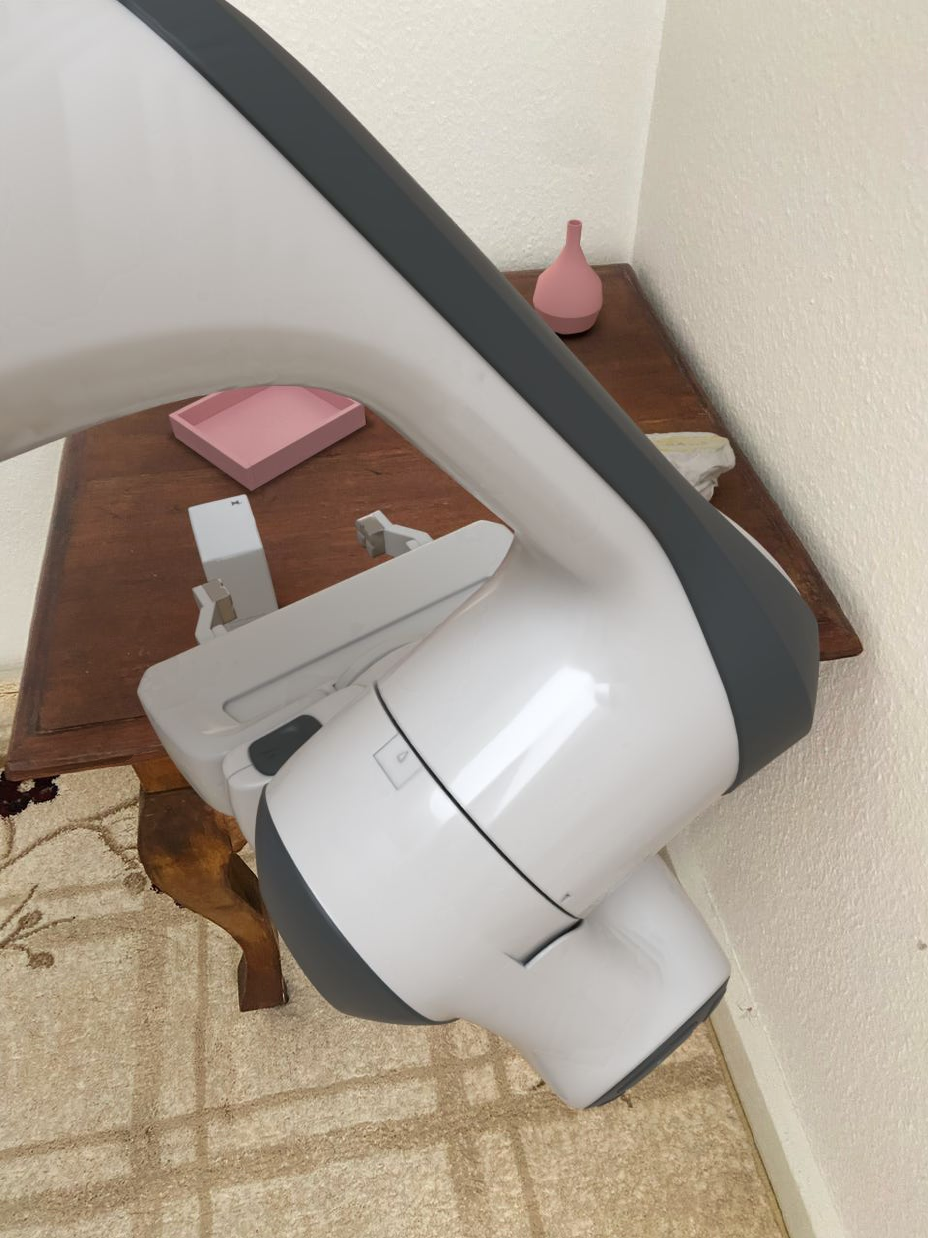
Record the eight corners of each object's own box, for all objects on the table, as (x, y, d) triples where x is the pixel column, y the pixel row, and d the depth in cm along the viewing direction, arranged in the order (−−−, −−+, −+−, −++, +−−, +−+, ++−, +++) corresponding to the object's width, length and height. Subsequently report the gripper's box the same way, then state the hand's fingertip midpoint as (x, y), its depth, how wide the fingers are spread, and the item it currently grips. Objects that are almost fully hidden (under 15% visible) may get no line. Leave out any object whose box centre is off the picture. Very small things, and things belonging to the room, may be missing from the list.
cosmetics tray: (251, 491, 80) (246, 468, 78) (174, 437, 85) (168, 414, 83) (366, 424, 87) (363, 402, 85) (288, 378, 92) (284, 356, 90)
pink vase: (517, 330, 99) (522, 223, 90) (558, 305, 103) (567, 200, 94) (571, 354, 95) (582, 246, 86) (612, 328, 99) (627, 221, 90)
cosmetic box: (222, 621, 69) (185, 505, 60) (275, 607, 70) (247, 490, 61) (236, 678, 65) (200, 562, 56) (292, 662, 66) (265, 546, 57)
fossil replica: (562, 497, 79) (630, 569, 74) (569, 428, 72) (644, 501, 67) (666, 447, 83) (738, 512, 78) (682, 376, 76) (762, 442, 71)
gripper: (612, 591, 40) (451, 442, 48) (194, 807, 33) (84, 590, 41) (598, 676, 45) (453, 528, 53) (229, 882, 38) (124, 674, 45)
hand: (290, 556), depth 47 cm, fingers open, 8 cm apart
